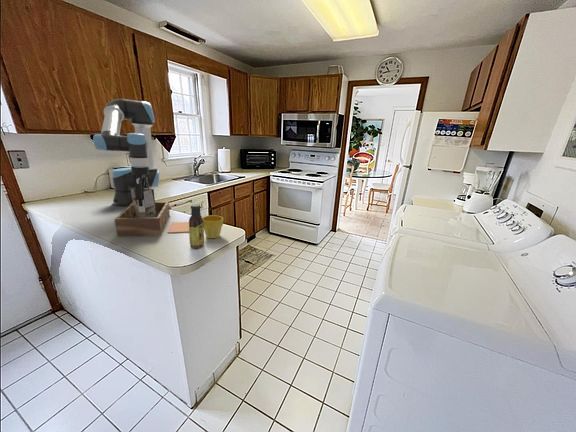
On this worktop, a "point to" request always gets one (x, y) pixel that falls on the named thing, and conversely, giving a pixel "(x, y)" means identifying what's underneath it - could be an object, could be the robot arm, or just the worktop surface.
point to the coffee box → (149, 204)
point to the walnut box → (142, 222)
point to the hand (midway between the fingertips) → (144, 208)
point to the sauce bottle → (196, 228)
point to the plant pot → (212, 225)
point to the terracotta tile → (179, 227)
